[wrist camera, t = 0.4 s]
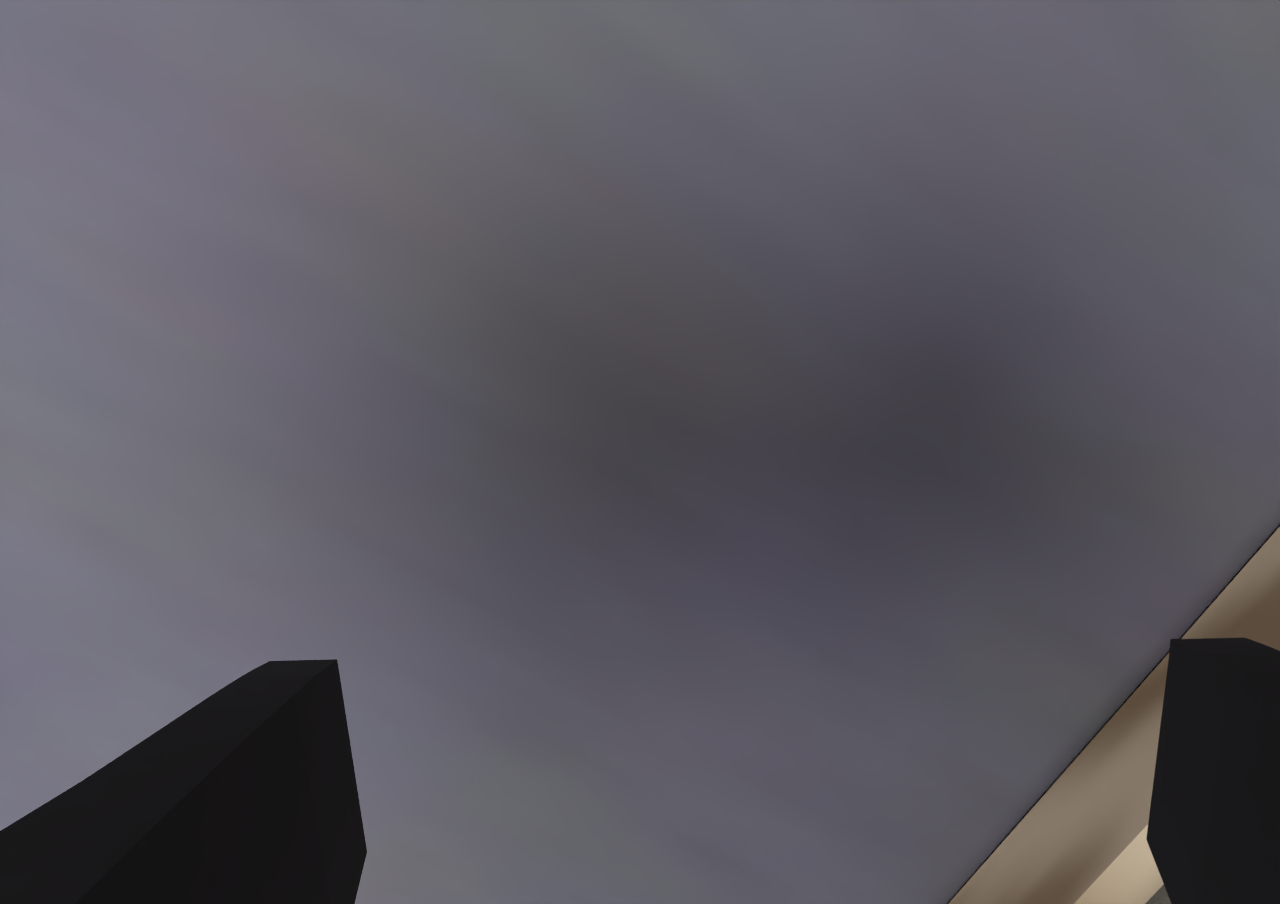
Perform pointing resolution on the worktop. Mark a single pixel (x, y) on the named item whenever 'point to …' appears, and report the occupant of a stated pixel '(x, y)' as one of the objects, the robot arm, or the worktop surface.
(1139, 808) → the wooden block stand
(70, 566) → the worktop surface
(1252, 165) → the worktop surface
